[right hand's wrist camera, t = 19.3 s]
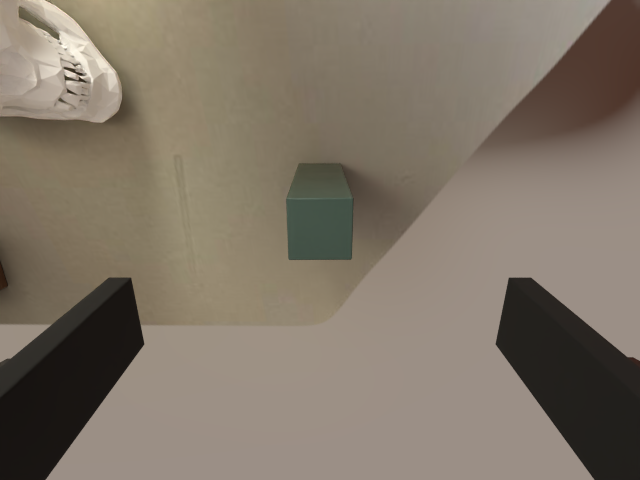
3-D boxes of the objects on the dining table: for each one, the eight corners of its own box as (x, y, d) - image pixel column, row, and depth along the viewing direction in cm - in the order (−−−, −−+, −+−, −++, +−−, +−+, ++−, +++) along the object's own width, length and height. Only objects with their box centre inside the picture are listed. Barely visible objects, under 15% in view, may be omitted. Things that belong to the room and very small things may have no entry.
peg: (299, 204, 36) (288, 260, 23) (298, 163, 35) (286, 198, 22) (340, 204, 36) (351, 260, 23) (340, 163, 35) (353, 198, 22)
